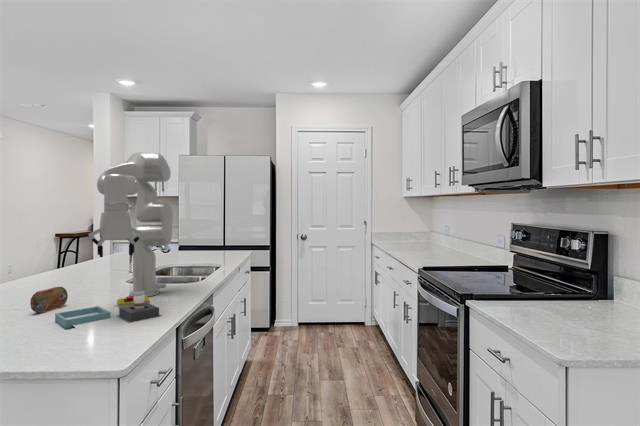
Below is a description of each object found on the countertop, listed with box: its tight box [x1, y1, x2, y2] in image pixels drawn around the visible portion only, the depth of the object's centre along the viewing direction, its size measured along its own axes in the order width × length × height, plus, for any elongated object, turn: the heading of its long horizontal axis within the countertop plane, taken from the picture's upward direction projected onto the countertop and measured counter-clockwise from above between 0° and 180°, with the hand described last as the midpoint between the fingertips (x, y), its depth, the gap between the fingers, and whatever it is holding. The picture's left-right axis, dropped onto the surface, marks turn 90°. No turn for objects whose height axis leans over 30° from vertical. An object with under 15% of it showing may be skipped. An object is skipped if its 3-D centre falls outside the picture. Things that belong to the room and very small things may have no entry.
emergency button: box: [112, 295, 151, 309], centre depth 165 cm, size 9×4×15 cm
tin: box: [29, 286, 69, 314], centre depth 159 cm, size 15×3×8 cm, turn 168°
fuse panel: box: [115, 303, 163, 324], centre depth 147 cm, size 12×12×4 cm
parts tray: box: [54, 305, 111, 330], centre depth 144 cm, size 14×12×3 cm
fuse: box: [132, 290, 145, 310], centre depth 147 cm, size 4×4×9 cm
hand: (116, 256), depth 147 cm, fingers open, 9 cm apart
